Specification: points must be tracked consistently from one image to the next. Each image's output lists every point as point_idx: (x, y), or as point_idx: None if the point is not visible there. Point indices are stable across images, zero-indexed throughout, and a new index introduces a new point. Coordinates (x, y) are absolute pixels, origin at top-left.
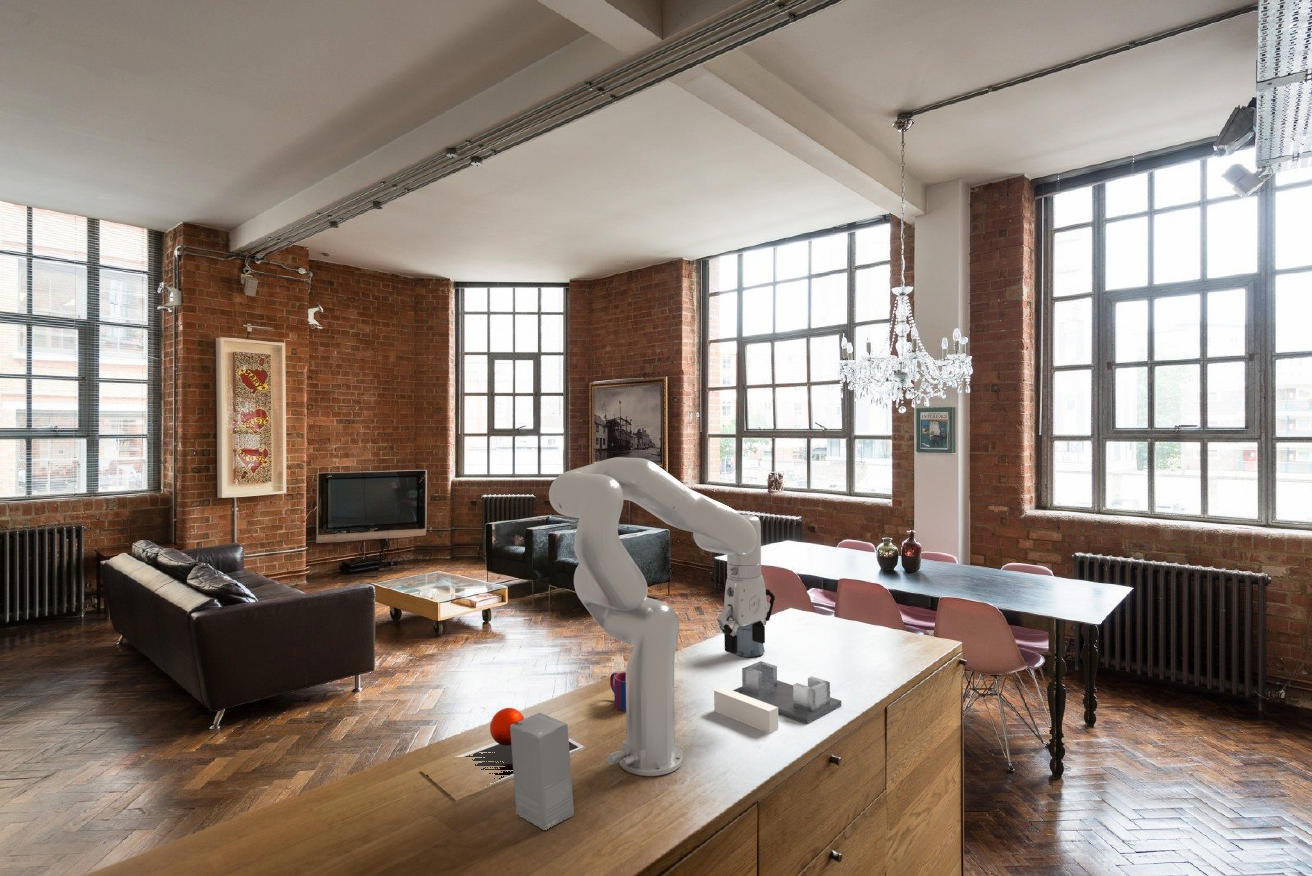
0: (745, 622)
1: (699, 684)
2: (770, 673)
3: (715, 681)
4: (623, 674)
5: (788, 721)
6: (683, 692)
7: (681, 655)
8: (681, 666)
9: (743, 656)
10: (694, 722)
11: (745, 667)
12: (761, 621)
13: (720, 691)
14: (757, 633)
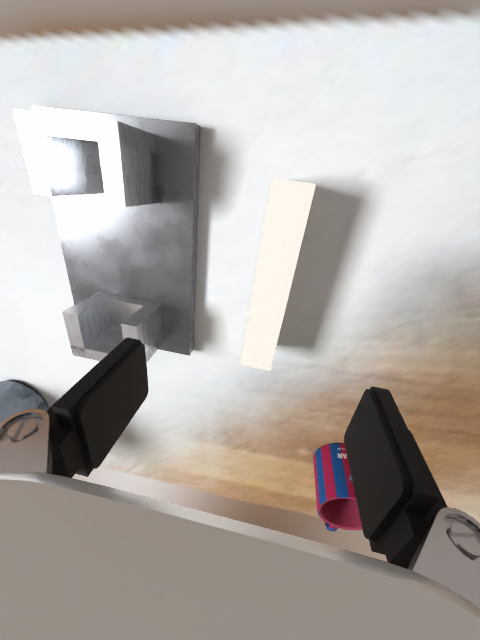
0: (435, 637)
1: (189, 410)
2: (91, 314)
3: (159, 395)
4: (332, 520)
5: (218, 182)
6: (236, 416)
7: (120, 467)
8: (152, 454)
9: (43, 400)
10: (346, 350)
11: None
12: (47, 456)
13: (267, 357)
14: (120, 401)
